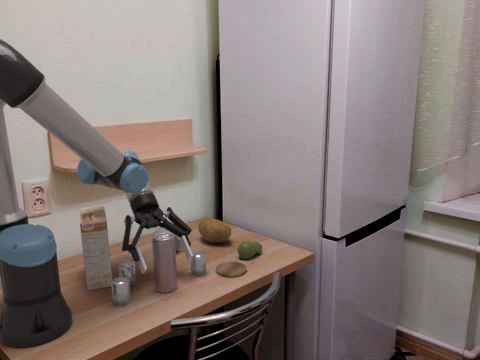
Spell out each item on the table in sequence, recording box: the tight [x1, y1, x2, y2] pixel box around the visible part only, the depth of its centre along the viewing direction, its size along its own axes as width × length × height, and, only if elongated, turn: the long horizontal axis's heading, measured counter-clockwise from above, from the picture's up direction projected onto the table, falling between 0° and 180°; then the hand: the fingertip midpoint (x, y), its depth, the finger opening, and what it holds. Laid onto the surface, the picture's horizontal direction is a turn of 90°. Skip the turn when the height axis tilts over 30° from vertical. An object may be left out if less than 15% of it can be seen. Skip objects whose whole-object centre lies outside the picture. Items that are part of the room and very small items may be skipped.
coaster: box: [215, 261, 247, 278], centre depth 126 cm, size 9×9×1 cm
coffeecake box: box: [79, 205, 113, 291], centre depth 121 cm, size 15×7×20 cm, turn 20°
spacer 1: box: [111, 276, 132, 307], centre depth 108 cm, size 4×4×6 cm
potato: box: [197, 217, 233, 244], centre depth 150 cm, size 10×14×8 cm
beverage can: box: [151, 233, 178, 294], centre depth 114 cm, size 6×6×15 cm
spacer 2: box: [190, 250, 207, 278], centre depth 125 cm, size 4×4×6 cm
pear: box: [237, 240, 263, 260], centre depth 137 cm, size 6×5×10 cm
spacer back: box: [118, 260, 137, 289], centre depth 118 cm, size 4×4×6 cm
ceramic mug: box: [151, 227, 183, 252], centre depth 143 cm, size 11×8×8 cm
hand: (168, 264), depth 114 cm, fingers open, 13 cm apart
